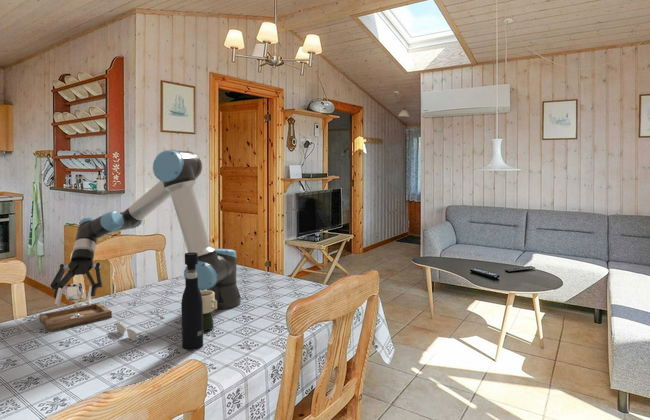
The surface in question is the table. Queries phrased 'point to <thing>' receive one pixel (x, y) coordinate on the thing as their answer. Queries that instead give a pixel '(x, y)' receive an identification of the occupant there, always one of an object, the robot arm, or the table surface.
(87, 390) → the table surface
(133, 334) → the eyeglasses
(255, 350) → the table surface
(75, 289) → the wineglass
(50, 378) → the table surface
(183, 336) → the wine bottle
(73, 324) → the walnut tray
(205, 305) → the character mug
